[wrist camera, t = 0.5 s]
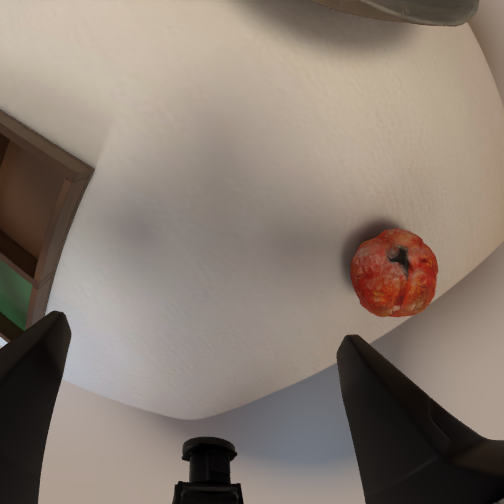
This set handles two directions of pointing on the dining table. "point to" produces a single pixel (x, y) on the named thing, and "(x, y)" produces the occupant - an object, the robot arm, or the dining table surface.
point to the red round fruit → (394, 274)
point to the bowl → (409, 10)
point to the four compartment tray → (32, 220)
